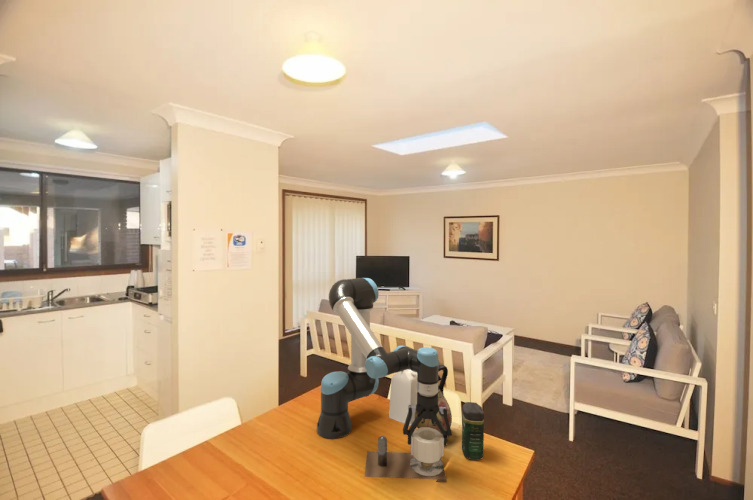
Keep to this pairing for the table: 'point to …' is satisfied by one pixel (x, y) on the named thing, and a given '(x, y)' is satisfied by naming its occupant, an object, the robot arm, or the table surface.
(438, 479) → the board
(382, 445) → the stand rod
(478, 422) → the coffee jar
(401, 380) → the milk
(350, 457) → the table surface
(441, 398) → the ceramic jug
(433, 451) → the ring
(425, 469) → the hub
